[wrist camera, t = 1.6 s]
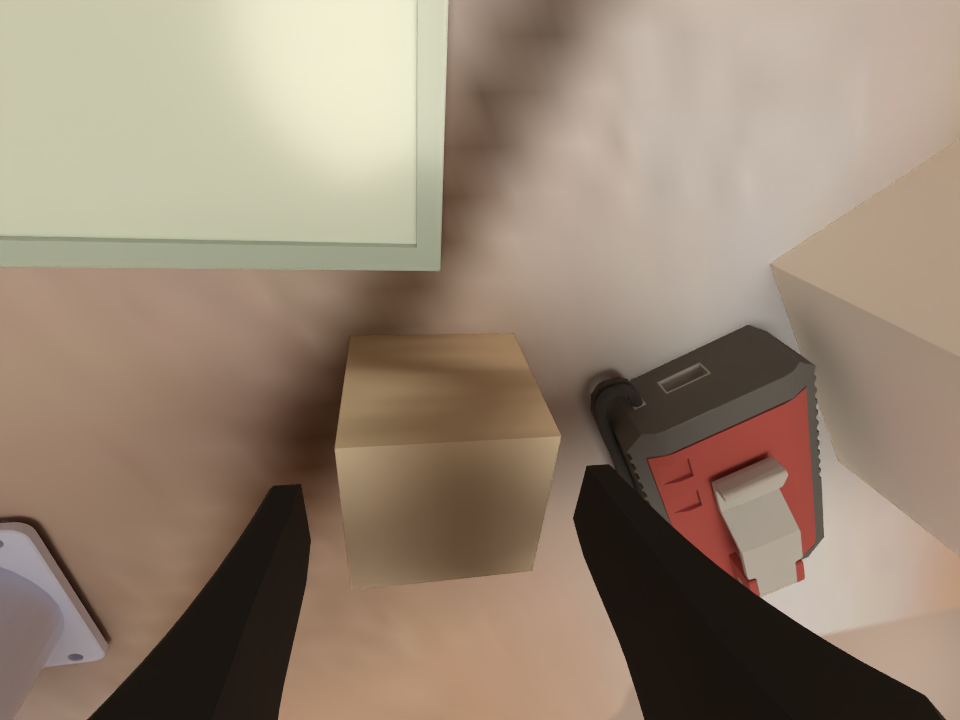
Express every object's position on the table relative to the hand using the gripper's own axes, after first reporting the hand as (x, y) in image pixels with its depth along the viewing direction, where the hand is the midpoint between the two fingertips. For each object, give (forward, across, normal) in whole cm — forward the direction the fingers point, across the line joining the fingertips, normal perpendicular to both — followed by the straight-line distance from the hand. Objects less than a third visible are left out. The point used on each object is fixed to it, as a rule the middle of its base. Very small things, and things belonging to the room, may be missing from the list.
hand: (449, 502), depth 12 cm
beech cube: (+4, 0, 0) cm, 5 cm away
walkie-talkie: (+5, -12, +7) cm, 15 cm away
